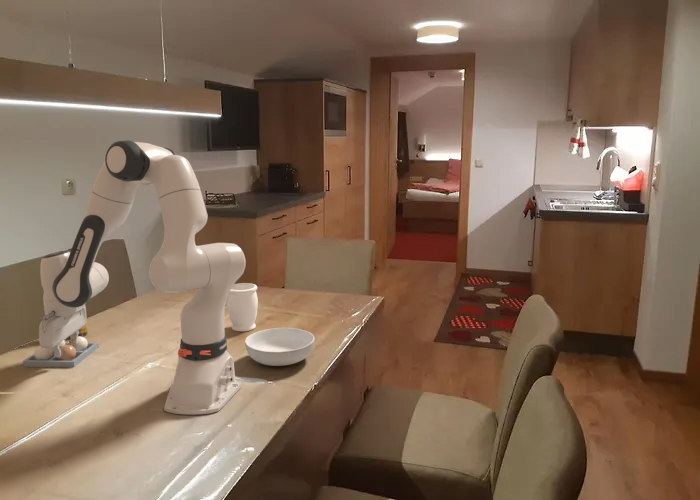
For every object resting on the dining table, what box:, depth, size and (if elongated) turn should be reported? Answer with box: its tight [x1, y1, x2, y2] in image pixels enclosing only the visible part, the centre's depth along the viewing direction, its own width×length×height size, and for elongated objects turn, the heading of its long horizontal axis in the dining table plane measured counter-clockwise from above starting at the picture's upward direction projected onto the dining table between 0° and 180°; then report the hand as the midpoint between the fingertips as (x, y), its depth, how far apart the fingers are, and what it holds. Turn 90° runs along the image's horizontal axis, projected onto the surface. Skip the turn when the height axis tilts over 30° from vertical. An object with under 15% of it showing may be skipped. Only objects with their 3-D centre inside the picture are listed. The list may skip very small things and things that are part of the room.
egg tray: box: [22, 341, 99, 368], centre depth 173 cm, size 15×15×2 cm
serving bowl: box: [244, 327, 316, 367], centre depth 172 cm, size 21×21×7 cm
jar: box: [226, 282, 259, 332], centre depth 198 cm, size 11×10×15 cm
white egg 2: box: [59, 339, 66, 348], centre depth 177 cm, size 5×5×5 cm
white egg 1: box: [33, 345, 53, 360], centre depth 170 cm, size 5×5×5 cm
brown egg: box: [58, 345, 76, 361], centre depth 169 cm, size 5×5×5 cm
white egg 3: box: [73, 336, 88, 351], centre depth 177 cm, size 5×5×5 cm
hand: (66, 350), depth 169 cm, fingers open, 7 cm apart
